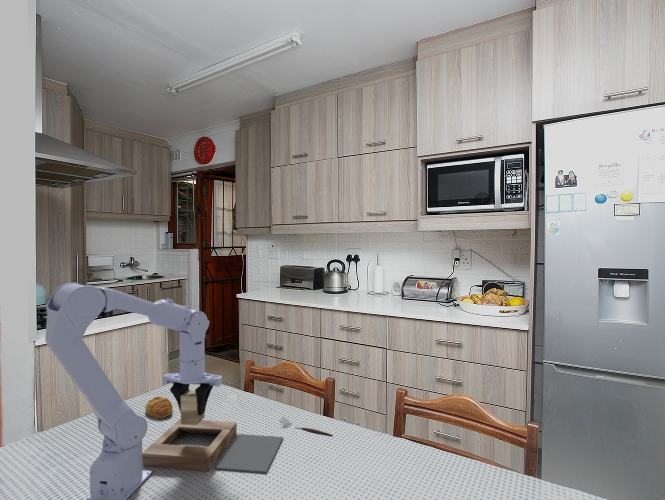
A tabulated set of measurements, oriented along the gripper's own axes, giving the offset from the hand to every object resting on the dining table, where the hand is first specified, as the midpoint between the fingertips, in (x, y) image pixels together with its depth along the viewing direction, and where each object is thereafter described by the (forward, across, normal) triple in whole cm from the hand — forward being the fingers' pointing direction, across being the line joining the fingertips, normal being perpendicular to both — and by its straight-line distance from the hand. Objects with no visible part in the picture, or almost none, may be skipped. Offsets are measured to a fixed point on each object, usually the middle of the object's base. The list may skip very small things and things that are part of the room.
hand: (192, 412), depth 88 cm
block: (+2, 0, 0) cm, 2 cm away
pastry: (+9, +20, -17) cm, 28 cm away
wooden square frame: (+9, 0, 0) cm, 9 cm away
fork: (+10, -26, -12) cm, 30 cm away
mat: (+9, -15, 0) cm, 17 cm away
